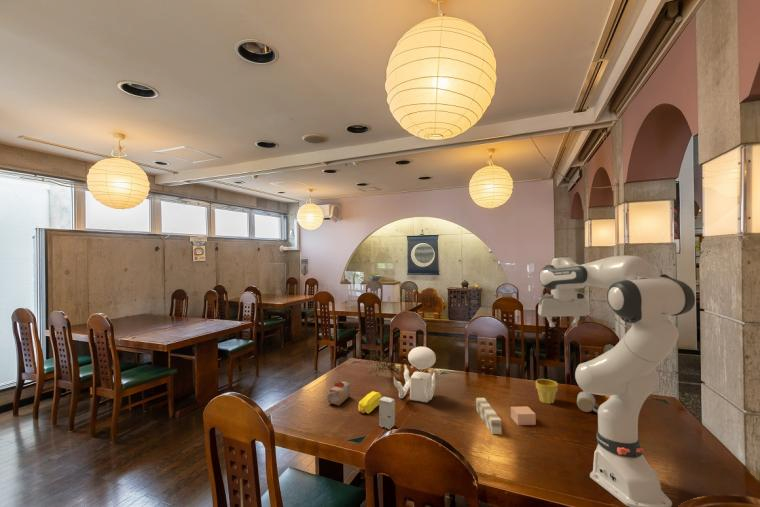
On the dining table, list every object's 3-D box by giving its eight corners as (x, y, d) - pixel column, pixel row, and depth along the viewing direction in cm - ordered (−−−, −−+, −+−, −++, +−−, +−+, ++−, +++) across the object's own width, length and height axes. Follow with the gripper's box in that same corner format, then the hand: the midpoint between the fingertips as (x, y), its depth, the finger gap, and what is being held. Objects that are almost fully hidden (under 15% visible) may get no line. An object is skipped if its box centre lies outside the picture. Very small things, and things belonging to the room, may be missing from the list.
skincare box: (378, 427, 156) (378, 399, 156) (383, 422, 160) (383, 396, 160) (391, 430, 153) (390, 402, 153) (395, 425, 157) (395, 398, 157)
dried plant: (415, 347, 225) (357, 316, 239) (399, 365, 196) (334, 328, 211) (399, 387, 231) (343, 354, 246) (381, 410, 203) (319, 371, 217)
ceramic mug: (576, 411, 169) (576, 395, 169) (577, 405, 175) (577, 389, 175) (602, 416, 163) (602, 400, 163) (602, 410, 170) (602, 394, 170)
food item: (340, 407, 178) (339, 387, 178) (326, 405, 180) (325, 386, 181) (351, 397, 191) (351, 379, 191) (338, 395, 193) (338, 377, 193)
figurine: (430, 411, 173) (431, 354, 173) (392, 404, 180) (393, 350, 180) (438, 393, 196) (439, 343, 196) (404, 388, 202) (405, 339, 202)
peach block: (535, 425, 156) (535, 413, 156) (517, 425, 155) (517, 414, 156) (527, 417, 164) (527, 406, 164) (510, 417, 163) (510, 406, 164)
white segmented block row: (501, 434, 148) (501, 420, 148) (492, 434, 148) (491, 420, 148) (484, 409, 172) (484, 397, 172) (476, 410, 172) (476, 397, 172)
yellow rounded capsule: (355, 413, 170) (368, 416, 167) (354, 400, 170) (368, 402, 167) (372, 400, 186) (385, 402, 183) (372, 387, 186) (385, 389, 183)
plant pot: (560, 406, 174) (560, 386, 175) (538, 404, 177) (538, 385, 177) (554, 397, 185) (554, 379, 185) (534, 396, 187) (533, 378, 187)
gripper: (541, 295, 147) (542, 328, 147) (590, 294, 147) (590, 327, 147) (535, 294, 154) (535, 325, 154) (581, 293, 154) (582, 324, 154)
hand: (563, 326), depth 151 cm, fingers open, 8 cm apart
